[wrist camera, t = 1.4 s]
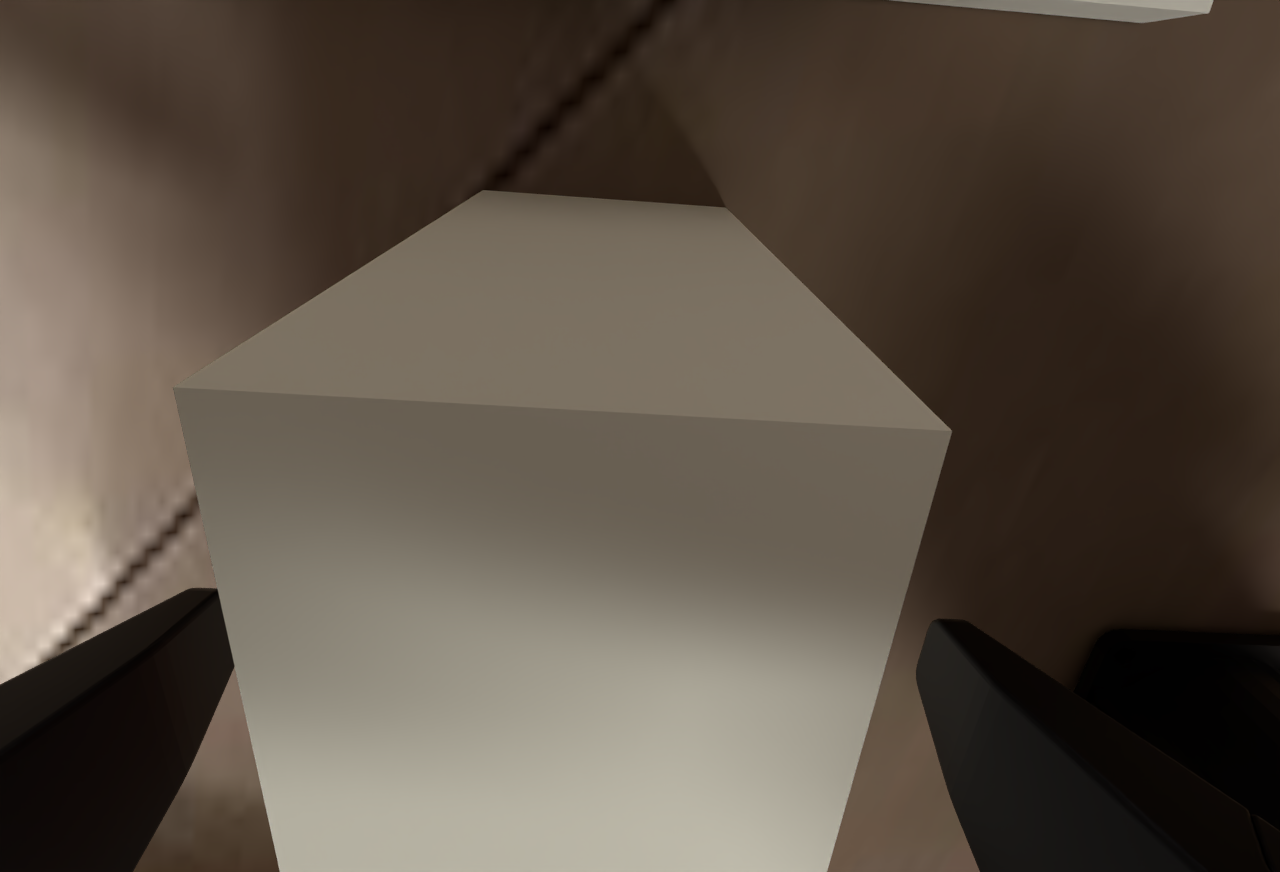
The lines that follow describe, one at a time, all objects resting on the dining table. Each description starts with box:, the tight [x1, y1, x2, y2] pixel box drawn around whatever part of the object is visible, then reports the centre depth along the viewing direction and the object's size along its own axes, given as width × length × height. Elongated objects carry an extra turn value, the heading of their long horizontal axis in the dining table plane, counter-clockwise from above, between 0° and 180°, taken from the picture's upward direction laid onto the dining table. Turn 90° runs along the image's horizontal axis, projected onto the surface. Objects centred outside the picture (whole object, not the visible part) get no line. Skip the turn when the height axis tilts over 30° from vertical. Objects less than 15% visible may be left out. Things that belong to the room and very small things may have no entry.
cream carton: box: [173, 190, 952, 872], centre depth 11 cm, size 5×9×10 cm, turn 176°
